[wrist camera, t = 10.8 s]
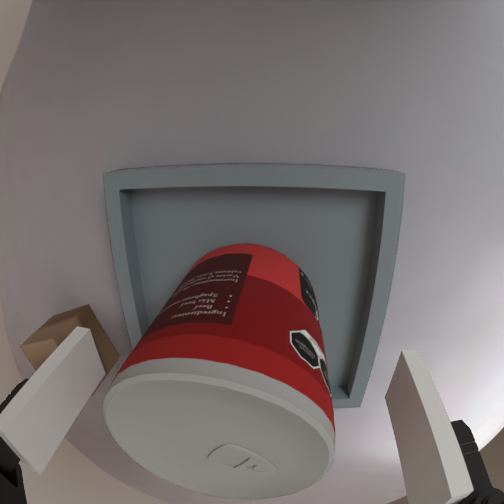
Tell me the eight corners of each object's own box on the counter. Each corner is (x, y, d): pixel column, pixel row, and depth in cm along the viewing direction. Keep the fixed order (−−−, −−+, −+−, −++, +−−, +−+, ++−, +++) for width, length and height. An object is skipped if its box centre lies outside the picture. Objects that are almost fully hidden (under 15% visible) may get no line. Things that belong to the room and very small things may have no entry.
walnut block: (53, 315, 22) (19, 346, 17) (89, 303, 21) (52, 338, 16) (82, 361, 24) (54, 396, 19) (120, 355, 22) (92, 395, 18)
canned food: (290, 363, 20) (285, 511, 10) (176, 327, 20) (105, 460, 10) (336, 264, 17) (387, 415, 7) (202, 220, 17) (95, 329, 7)
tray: (119, 169, 17) (103, 173, 15) (392, 170, 16) (405, 173, 14) (153, 375, 23) (144, 392, 21) (355, 388, 21) (359, 407, 19)
